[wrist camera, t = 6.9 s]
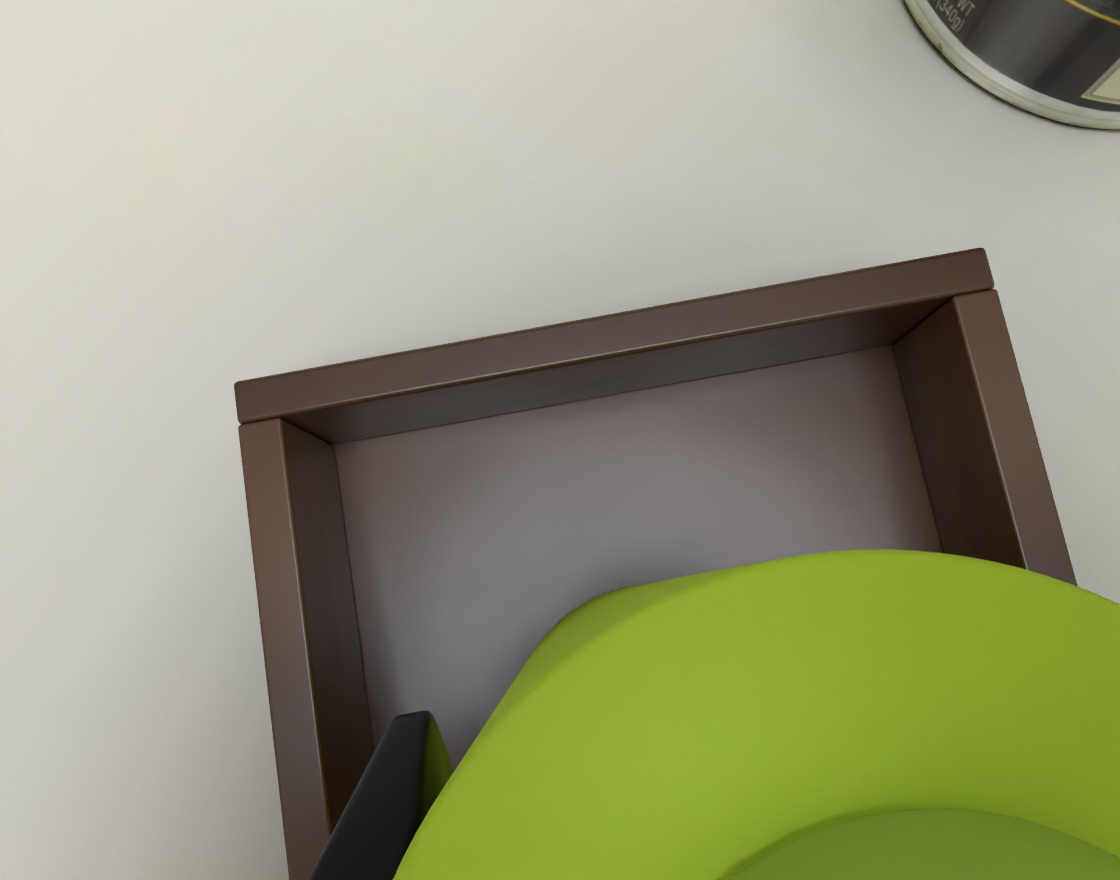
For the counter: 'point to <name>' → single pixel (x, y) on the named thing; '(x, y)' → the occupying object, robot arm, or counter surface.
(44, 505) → the counter surface
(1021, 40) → the coffee can
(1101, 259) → the counter surface
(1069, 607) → the soap dispenser
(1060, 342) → the counter surface
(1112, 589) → the counter surface
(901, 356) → the crate
